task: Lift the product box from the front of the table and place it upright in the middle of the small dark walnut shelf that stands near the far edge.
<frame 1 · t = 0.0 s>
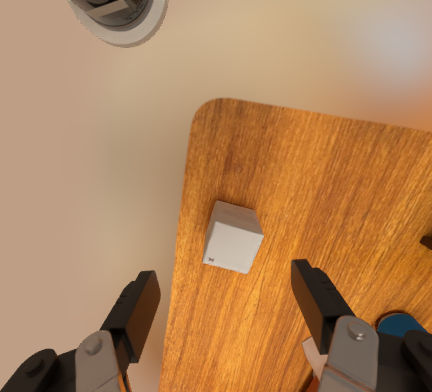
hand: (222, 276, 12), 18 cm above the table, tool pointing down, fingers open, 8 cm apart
product box: (229, 221, 31), on the table
figurine: (320, 345, 39), on the table
beverage can: (391, 321, 37), on the table
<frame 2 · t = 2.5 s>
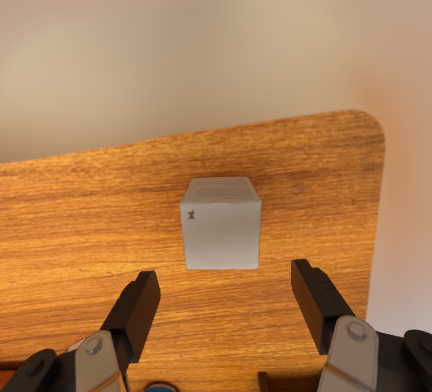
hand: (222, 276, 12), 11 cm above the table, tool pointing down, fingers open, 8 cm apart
orange toaster: (19, 376, 34), on the table
product box: (221, 202, 22), on the table
shelf: (293, 385, 33), on the table
beverage can: (162, 390, 35), on the table
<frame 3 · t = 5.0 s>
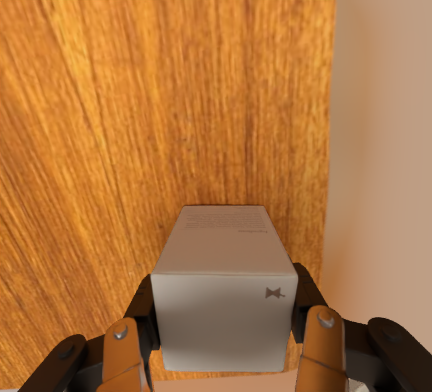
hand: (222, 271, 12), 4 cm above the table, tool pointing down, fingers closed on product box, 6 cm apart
product box: (223, 238, 16), on the table, touching gripper
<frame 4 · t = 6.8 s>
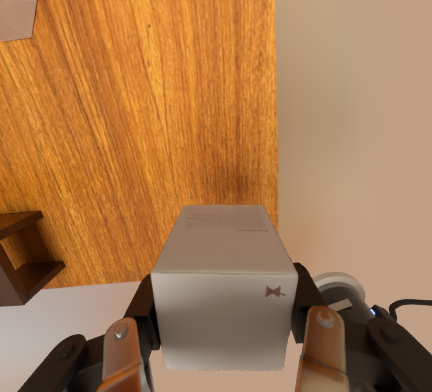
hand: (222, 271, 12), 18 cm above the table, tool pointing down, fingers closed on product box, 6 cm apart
product box: (223, 237, 16), point 14 cm above the table, touching gripper
shelf: (32, 241, 34), on the table
figurine: (4, 3, 23), on the table
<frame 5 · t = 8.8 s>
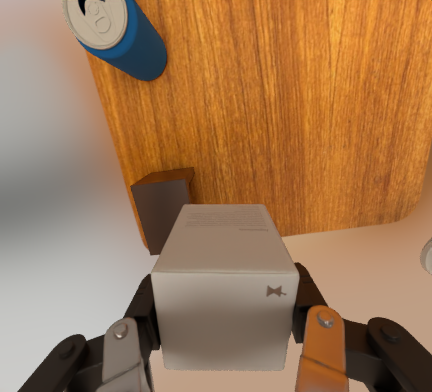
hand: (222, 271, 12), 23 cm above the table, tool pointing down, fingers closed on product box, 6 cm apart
product box: (223, 237, 16), point 19 cm above the table, touching gripper
shelf: (178, 200, 36), on the table
beverage can: (146, 56, 29), on the table
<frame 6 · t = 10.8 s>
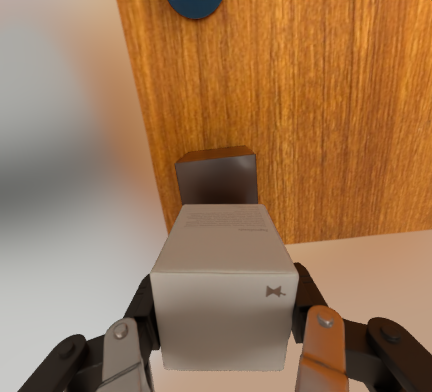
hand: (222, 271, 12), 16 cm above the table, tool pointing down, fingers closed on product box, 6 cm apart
product box: (223, 237, 16), point 13 cm above the table, touching gripper
shelf: (221, 189, 28), on the table
when the fingers open (12 cm above the table, at t = 12.6 s): product box stays where it is, resting on shelf.
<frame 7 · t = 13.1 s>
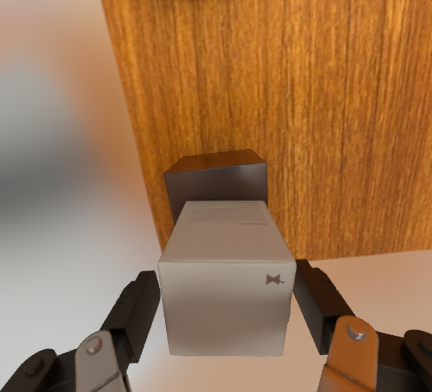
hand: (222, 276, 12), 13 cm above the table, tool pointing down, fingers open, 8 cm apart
product box: (224, 232, 16), point 8 cm above the table, touching shelf
shelf: (222, 199, 24), on the table
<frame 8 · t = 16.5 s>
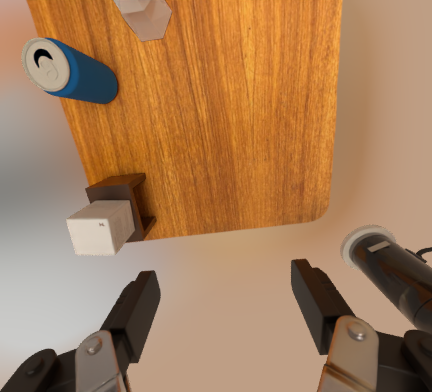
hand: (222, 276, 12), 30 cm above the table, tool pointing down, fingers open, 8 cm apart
product box: (116, 215, 35), point 8 cm above the table, touching shelf
shelf: (134, 199, 43), on the table
figurine: (147, 14, 32), on the table
beverage can: (102, 84, 36), on the table
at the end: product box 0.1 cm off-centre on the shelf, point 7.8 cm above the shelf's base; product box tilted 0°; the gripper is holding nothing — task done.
